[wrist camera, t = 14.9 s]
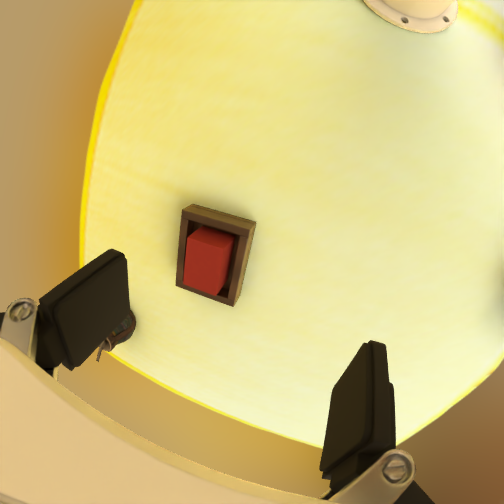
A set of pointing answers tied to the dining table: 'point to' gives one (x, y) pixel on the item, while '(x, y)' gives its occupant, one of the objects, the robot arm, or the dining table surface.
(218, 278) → the red block
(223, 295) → the brown shallow rectangular box
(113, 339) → the mate gourd
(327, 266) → the dining table surface
